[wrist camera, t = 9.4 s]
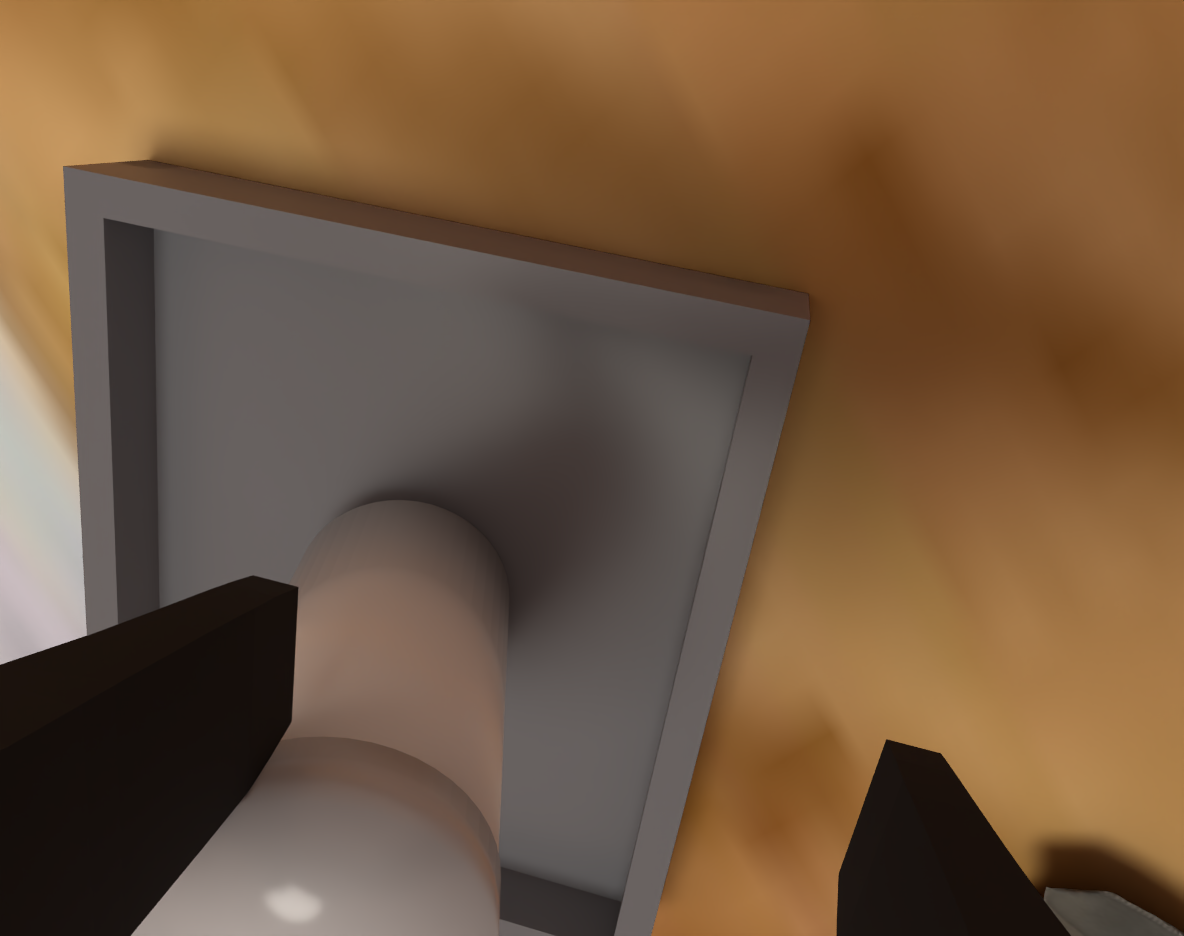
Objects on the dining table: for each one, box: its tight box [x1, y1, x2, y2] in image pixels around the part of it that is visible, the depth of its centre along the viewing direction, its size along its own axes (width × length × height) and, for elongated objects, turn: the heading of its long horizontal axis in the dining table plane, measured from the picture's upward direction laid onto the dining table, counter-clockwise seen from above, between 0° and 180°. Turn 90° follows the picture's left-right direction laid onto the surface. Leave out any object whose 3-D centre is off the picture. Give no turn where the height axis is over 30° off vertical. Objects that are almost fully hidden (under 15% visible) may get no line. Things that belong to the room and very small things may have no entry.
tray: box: [63, 160, 810, 936], centre depth 21 cm, size 14×16×2 cm
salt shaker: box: [131, 500, 509, 936], centre depth 16 cm, size 5×5×9 cm
